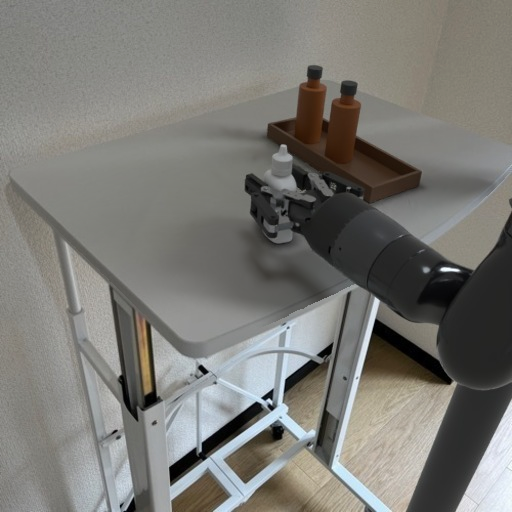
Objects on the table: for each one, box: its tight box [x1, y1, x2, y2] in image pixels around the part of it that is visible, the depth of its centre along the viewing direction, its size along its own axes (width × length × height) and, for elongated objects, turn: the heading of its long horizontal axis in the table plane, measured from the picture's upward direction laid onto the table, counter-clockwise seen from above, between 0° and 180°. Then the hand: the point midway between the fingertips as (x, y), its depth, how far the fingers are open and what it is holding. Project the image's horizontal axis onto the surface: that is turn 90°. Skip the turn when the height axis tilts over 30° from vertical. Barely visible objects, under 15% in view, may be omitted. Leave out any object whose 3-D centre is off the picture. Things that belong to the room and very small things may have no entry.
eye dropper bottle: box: [261, 145, 298, 244], centre depth 67 cm, size 4×6×12 cm
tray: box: [266, 116, 423, 204], centre depth 88 cm, size 10×25×2 cm, turn 34°
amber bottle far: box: [294, 64, 328, 144], centre depth 90 cm, size 4×4×12 cm
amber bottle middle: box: [325, 79, 362, 163], centre depth 84 cm, size 4×4×12 cm
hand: (267, 175), depth 68 cm, fingers open, 5 cm apart
